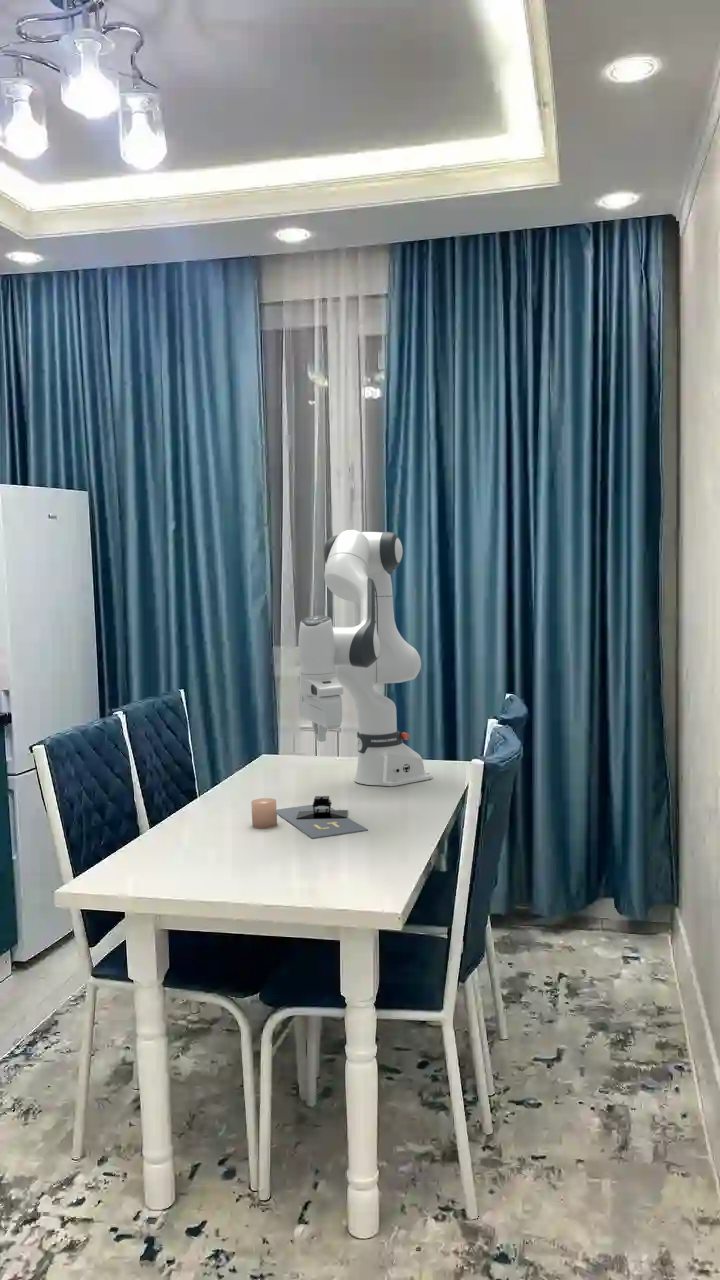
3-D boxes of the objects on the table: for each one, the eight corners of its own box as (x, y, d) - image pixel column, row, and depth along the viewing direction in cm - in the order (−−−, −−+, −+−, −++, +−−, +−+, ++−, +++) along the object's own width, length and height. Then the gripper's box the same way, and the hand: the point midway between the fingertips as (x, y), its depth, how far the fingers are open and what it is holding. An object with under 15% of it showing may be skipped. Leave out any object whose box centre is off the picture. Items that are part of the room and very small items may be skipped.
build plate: (296, 820, 247) (295, 801, 247) (299, 812, 255) (298, 794, 254) (346, 818, 247) (345, 799, 246) (348, 810, 254) (347, 792, 254)
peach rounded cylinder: (272, 821, 248) (271, 797, 248) (280, 826, 243) (279, 802, 242) (249, 824, 246) (248, 800, 245) (256, 830, 240) (255, 805, 240)
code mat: (323, 804, 263) (323, 802, 263) (367, 830, 236) (367, 829, 236) (272, 811, 258) (272, 809, 258) (312, 838, 231) (312, 837, 231)
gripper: (291, 679, 249) (293, 734, 251) (320, 690, 230) (322, 749, 232) (315, 677, 252) (317, 731, 253) (346, 688, 233) (348, 746, 234)
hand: (320, 740), depth 242 cm, fingers closed
